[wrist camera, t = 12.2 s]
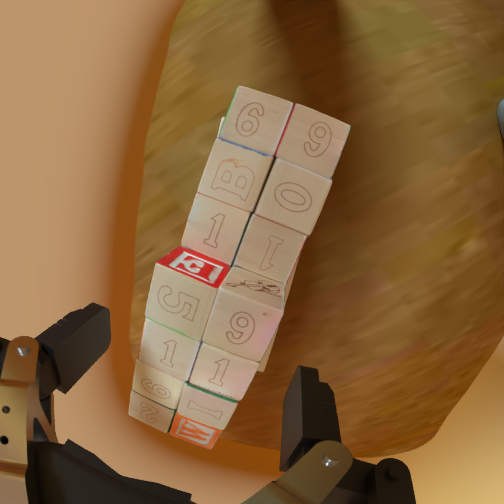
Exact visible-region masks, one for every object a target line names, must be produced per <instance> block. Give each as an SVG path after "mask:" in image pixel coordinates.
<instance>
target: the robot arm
mask: <svg viewBox="0 0 504 504" xmlns="http://www.w3.org/2000/svg"><path fill="white" fill-rule="evenodd" d="M110 341H111V331H110V312H109V309H108V308H106V307H103V306H101V305H99V304H96V303H91V304H89V305H88V306H86V307H85V308H84V309H79V310H76V311H73V312H70V313H69V314H67V315H66V316H64V317H63V319H60V320H59V321H58V322H57V323H56V324H53V325H52V326H51V327H49V328H48V329H47V330H45V331H44V332H43V333H41V334H40V335H38V336H37V337H36V338H32V337H29V336H20V337H17V338H15V339H13V340H12V341H9V340H7V339H4V338H1V337H0V504H196V503H194V502H192V501H190V500H191V495H192V494H190V493H186V492H183V491H180V490H177V489H174V488H171V487H168V486H165V485H162V484H159V483H155V482H149V481H144V480H139V479H133V478H128V477H125V476H122V475H120V474H118V473H117V472H116V471H114V470H113V469H111V468H110V467H109V466H108V465H107V464H105V463H104V462H103V461H102V460H101V459H99V458H98V457H97V456H96V455H95V454H93V453H91V452H90V451H88V450H86V449H84V448H83V447H81V446H79V445H78V444H76V443H74V442H73V441H71V440H69V439H68V440H67V441H66V443H65V444H60V443H58V440H57V436H56V432H55V419H54V395H53V391H54V390H55V389H58V390H59V391H61V392H62V393H64V394H66V393H67V392H68V391H69V390H70V389H71V388H72V386H73V385H74V384H75V383H76V382H77V381H78V380H79V379H80V378H81V377H82V376H83V375H84V374H85V372H86V371H87V370H88V369H89V368H90V367H91V366H92V365H93V364H94V363H95V362H96V361H97V360H98V358H100V357H101V356H102V354H104V353H105V351H106V350H107V348H108V347H109V345H110ZM336 411H337V410H336V405H335V398H334V392H333V391H332V389H331V388H330V387H329V385H328V384H327V383H323V382H319V374H318V369H316V368H310V367H305V366H298V367H297V369H296V371H295V374H294V376H293V378H292V381H291V383H290V385H289V388H288V390H287V392H286V395H285V399H284V404H283V421H282V439H281V455H280V469H279V470H280V471H284V472H286V473H284V474H283V475H282V476H281V477H280V478H278V479H277V480H276V481H272V482H271V483H269V484H267V485H266V486H265V487H263V488H262V489H261V490H260V491H258V492H257V493H255V494H254V495H253V496H251V497H250V498H249V499H247V500H246V501H244V502H243V503H241V504H416V500H415V495H414V490H413V484H412V480H411V475H410V471H409V469H408V467H407V466H406V465H405V464H404V463H403V462H402V461H400V460H398V459H394V458H387V459H383V460H381V461H380V462H379V463H378V464H377V465H375V464H371V463H367V462H364V461H360V460H357V459H355V458H353V457H352V454H351V452H350V450H349V449H348V448H347V447H346V446H344V445H343V444H342V443H341V436H340V429H339V423H338V416H337V413H336Z"/></svg>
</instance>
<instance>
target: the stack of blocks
mask: <svg viewBox="0 0 504 504" xmlns="http://www.w3.org/2000/svg"><path fill="white" fill-rule="evenodd" d="M350 129H351V126H350V125H348V124H346V123H344V122H342V121H339V120H337V119H335V118H333V117H330V116H328V115H325V114H323V113H320V112H318V111H316V110H314V109H311V108H309V107H306V106H303V105H301V104H294V103H292V102H290V101H287V100H284V99H282V98H279V97H276V96H273V95H270V94H267V93H263V92H260V91H257V90H253V89H250V88H247V87H243V86H238V87H237V89H236V91H235V94H234V96H233V99H232V101H231V104H230V106H229V109H228V111H227V114H226V116H225V118H224V121H223V123H222V126H221V129H220V133H219V137H218V138H216V140H215V142H214V144H213V147H212V150H211V153H210V155H209V158H208V161H207V164H206V167H205V169H204V172H203V175H202V178H201V181H200V184H199V187H198V192H197V194H196V195H195V198H194V200H193V204H192V207H191V210H190V213H189V216H188V220H187V223H186V227H185V230H184V234H183V237H182V246H181V247H177V248H176V249H174V250H173V251H172V252H170V253H168V254H167V255H166V256H164V257H163V258H161V259H160V260H158V261H157V262H156V265H155V269H154V273H153V277H152V282H151V286H150V292H149V296H148V301H147V305H146V311H145V316H146V319H145V323H144V327H143V332H142V338H141V344H140V350H139V356H138V357H137V359H136V365H135V371H134V379H133V386H132V388H133V389H132V391H131V396H130V403H129V411H128V413H129V415H130V416H132V417H134V418H136V419H138V420H140V421H142V422H144V423H146V424H148V425H150V426H152V427H154V428H156V429H158V430H160V431H163V432H165V433H167V432H169V433H170V434H171V435H173V436H175V437H177V438H180V439H182V440H185V441H187V442H190V443H193V444H195V445H198V446H201V447H204V448H208V449H212V447H213V446H214V444H215V442H216V441H217V439H218V437H219V436H220V434H221V432H222V430H223V429H225V427H226V426H227V424H228V422H229V420H230V418H231V416H232V415H233V413H234V411H235V409H236V407H237V405H238V401H239V400H241V399H243V397H244V395H245V393H246V391H247V389H248V387H249V385H250V384H251V382H252V380H253V378H254V376H255V374H256V372H257V370H258V367H259V364H260V361H261V360H262V358H263V356H264V354H265V352H266V350H267V348H268V346H269V344H270V342H271V340H272V338H273V336H274V334H275V332H276V330H277V327H278V325H279V323H280V321H281V319H282V317H283V315H284V302H285V286H286V284H287V282H288V280H289V278H290V275H291V273H292V271H293V269H294V267H295V264H296V262H297V260H298V258H299V255H300V253H301V251H302V249H303V247H304V244H305V242H306V240H307V237H308V236H309V235H310V234H311V233H312V231H313V228H314V226H315V224H316V221H317V219H318V217H319V215H320V212H321V210H322V208H323V205H324V203H325V200H326V198H327V195H328V193H329V190H330V187H331V185H332V175H333V173H334V171H335V168H336V166H337V163H338V161H339V158H340V155H341V153H342V150H343V148H344V145H345V142H346V140H347V137H348V134H349V132H350Z"/></svg>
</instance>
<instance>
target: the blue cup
mask: <svg viewBox="0 0 504 504" xmlns="http://www.w3.org/2000/svg"><path fill="white" fill-rule="evenodd" d="M497 117H498V123H499V128H500V131H501V134H502V136H503V139H504V99H503V100H502V101H501V102H500V104H499V106H498V112H497Z"/></svg>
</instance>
